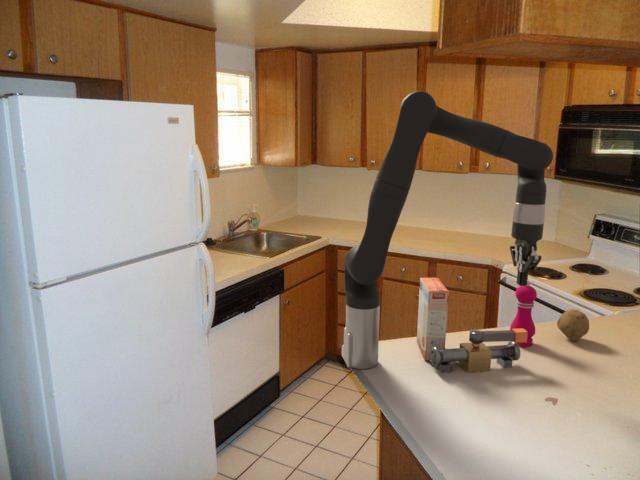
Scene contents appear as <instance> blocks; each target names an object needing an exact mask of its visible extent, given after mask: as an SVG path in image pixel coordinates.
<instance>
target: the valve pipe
mask: <svg viewBox="0 0 640 480" xmlns="http://www.w3.org/2000/svg"><path fill="white" fill-rule="evenodd" d="M520 357H521V348H520V347H519V345H518V344H517V343H515V342H514V341H512V342H511V341H508V343H507V344H498V345H497V344H496V345H486V344H484V342H482V343H472V342H460V343H459V347H457V348H445V349H440V350H439V349H438V347H432V348H431V350H430V359H431V360H430V362H431V364H432V366H433V367H436V368H437V369H438V371H440V373H442V374H448V373H451V371H452V368H451V367H452V365H451V363H458V364H459V366H461V367H462V369H463V370H464V371H465V372H467V373H468V374H473V373H483V372H485V373H486V372H491V364H492V360H496V363H498V365H500V367H502V368H503V369H512V368H513V362H514V361H519V360H520Z"/></svg>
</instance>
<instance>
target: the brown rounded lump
mask: <svg viewBox="0 0 640 480" xmlns="http://www.w3.org/2000/svg"><path fill="white" fill-rule="evenodd" d="M556 326H557V328H558V329H559V330H560V331H561V332H562V334H563V335H565V337H566V338H567V339H569V340H570V341H573V342H574V341H575V342H576V341H578V340H580V339H582V338H583V337H584V336H585V335H587V334H588V332H589V330H590V321H589V318H588V317H587V315H586V314H585V313H584V312H582V311H581V310H578V309H576V308H571V309H568V310H565V311H564V312H563V313H562V314H561V315H560V316H559V317H558V319H557V321H556Z"/></svg>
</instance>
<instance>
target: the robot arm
mask: <svg viewBox="0 0 640 480" xmlns="http://www.w3.org/2000/svg"><path fill="white" fill-rule="evenodd" d="M428 133H429V134H433V135H437V136H441V137H444V138H447V139H451V140H453V141H455V142H458V143H460V144H463V145H465V146H468V147H470V148H473V149H475V150H477V151H480V152H483V153H485V154H488V155H490V156H493V157H496V158H499V159H504V160H508V162H509V161H510V162H512V163H514V164H516V165H517V166H516V167H517V186H516V187H517V188H516V195H515V203H514V209H513V212H512V213H513V216H512V225H511V238H513V239H515V241H514V245H510V246H509V251H510V256H511V260H512V264H513V266H514V267H516V269H515V270H516V271H517V275H516V285H518V286H519V287H520V286H526V285H527V281H529V280H528V277H529V273H530V272H531V273H532V272H534V271H535V270H536V268H537V267H538V265H539V263H540V262H541V261H542V255H538V254H537V250H538V246H537V245H538V244H537V243H538V241H542V240H543V233H544V227H545V218H546V217H545V216H546V199H547V183H546V182H545V175H546V174H545V172H546V171H545V170H546V169H547V168H548V167H549V166H550V165H551V164H552V162H553V161H554V151H553V149H552V148H551V146H549V145H548V144H546V143H545V142H543V141H539V140H535V139H533V138H529V137H526V136H522V135H519V134H516V133H514V132H513V131H510V130H508V129H505V128H503V127H500V126H497V125H494V124H491V123H488V122H485V121H482V120H477V119H474V118H469V117H464V116H461V115H458V114H456V113H452V112H450V111H448V110H445V109H444V108H442V107H440V106H438V105H437V103H436V100H435V99H434V97H433V96H432V95H431V94H430V93H428V92H427V91H424V90H423V91H422V90H416V91H414V92H411V93H408V95H406V96H405V97H404V99H403V100H402V101H401V104H400V106H399V113H398V119H397V122H396V127H395V131H394V134H393V137H392V141H391V143H390V146H389V148H388V150H387V151H386V154H385V156H384V158H383V160H382V163H381V165H380V167H379V171H378V172H377V175H376V177H375V180H374V183H373V186H372V189H371V192H370V196H369V201H368V207H367V218H366V225H365V229H364V233H363V237H362V239H361V241H360V243H359V244H358V245H355V246H353V247H351V249H349V250H348V252H347V253H346V255H345V258H344V292H345V327H344V328H343V356H342V357H343V360H344V362H345V365H346V366H347V368H353V369H359V370H368V369H372V368H375V367H376V366H377V365H378V364H379V341H380V340H379V337H380V335H379V334H380V309H381V307H380V306H381V305H380V304H381V303H380V302H381V300H380V299H381V297H380V291H379V285H378V281H379V278H380V277H381V276H382V274H383V272H384V269H385V264H386V260H387V255H388V253H389V248H390V244H391V240H392V238H393V236H394V235H393V234H394V232H395V229H396V227H397V225H398V222H399V219H400V217H401V214H402V211H403V209H404V206H405V203H406V201H407V198H408V195H409V193H410V190H411V186H412V183H413V178H414V176H415V171H416V167H417V163H418V158H419V154H420V150H421V149H422V146H423V142H424V141H425V138H426V136H427V134H428Z"/></svg>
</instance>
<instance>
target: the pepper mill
mask: <svg viewBox="0 0 640 480" xmlns="http://www.w3.org/2000/svg"><path fill="white" fill-rule="evenodd" d="M537 295H538V294H537V291H536V288H534V287H533V286H531V282H530V281H529V280H527V285H526V286H520V285H519V286H518V287H517V288H516V289H515V294H514V296H515V297H516V299H517V300H516V303H515V304H516V306H517V311H516V315H515V317H514V318H513V320H512V322H511V325H510V327H509V330H512V329H519V328H523V329H525V330H526V331H527V332H528V335H527V342H521V343H517V344H518V345H519V348H520V347H521V348H530V347H532V346H533V341H534V340H533V339H534V338H533V336H535V335H536V326H535V323H534V320H533V317H532V310H533V308H534V306H535V302H534V301H535V300H536V299H537ZM510 342H512V341H510Z"/></svg>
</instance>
